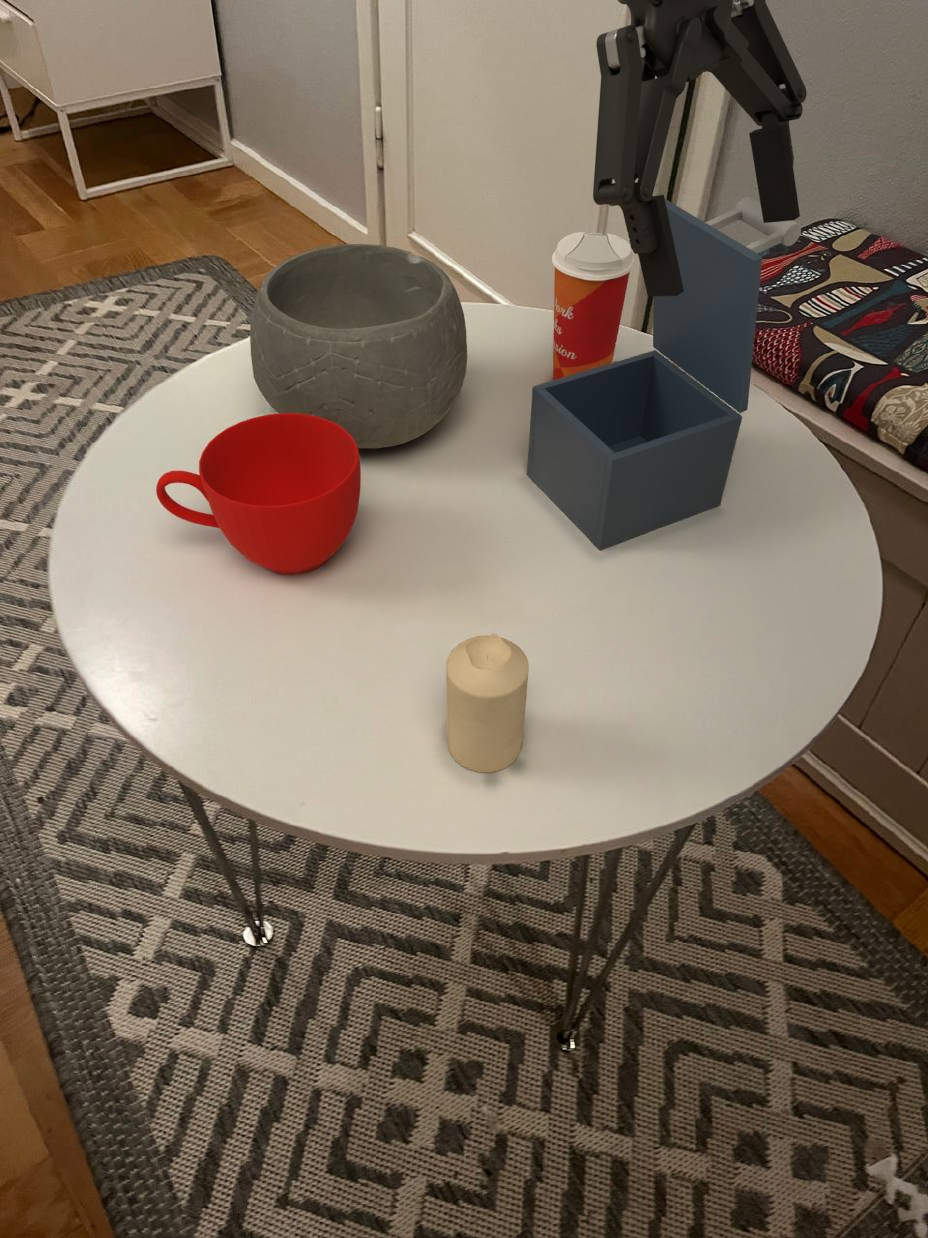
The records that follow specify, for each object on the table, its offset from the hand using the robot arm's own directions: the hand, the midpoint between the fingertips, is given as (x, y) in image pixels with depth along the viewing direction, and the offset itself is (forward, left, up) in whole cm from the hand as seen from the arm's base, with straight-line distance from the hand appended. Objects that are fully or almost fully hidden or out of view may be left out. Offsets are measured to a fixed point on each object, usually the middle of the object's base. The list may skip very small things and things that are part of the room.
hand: (726, 255), depth 69 cm
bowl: (+32, +10, -25) cm, 42 cm away
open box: (+6, -1, -25) cm, 26 cm away
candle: (-6, +30, -25) cm, 40 cm away
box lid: (+5, -6, -8) cm, 11 cm away
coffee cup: (+22, -12, -25) cm, 36 cm away
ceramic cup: (+22, +29, -25) cm, 44 cm away
